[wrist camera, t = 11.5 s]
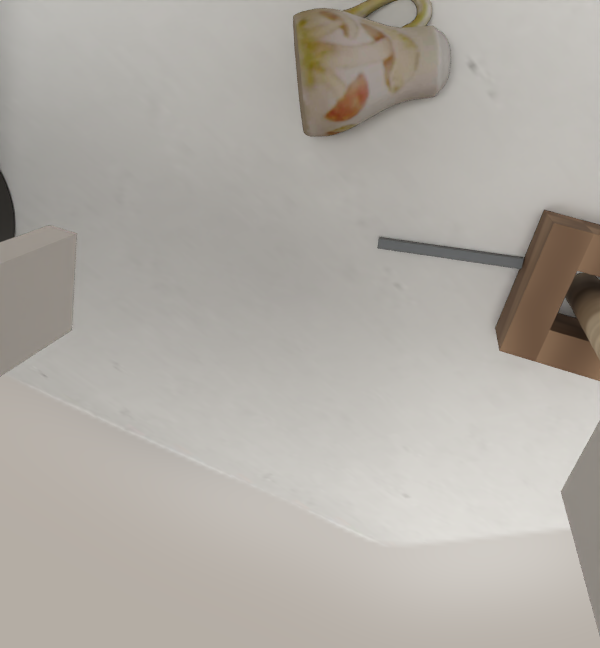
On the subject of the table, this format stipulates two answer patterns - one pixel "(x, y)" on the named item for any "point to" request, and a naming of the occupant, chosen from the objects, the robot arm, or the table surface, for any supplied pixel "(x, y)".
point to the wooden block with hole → (551, 297)
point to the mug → (364, 64)
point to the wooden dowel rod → (586, 306)
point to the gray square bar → (451, 253)
